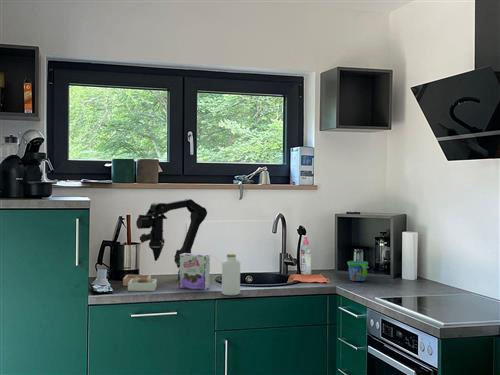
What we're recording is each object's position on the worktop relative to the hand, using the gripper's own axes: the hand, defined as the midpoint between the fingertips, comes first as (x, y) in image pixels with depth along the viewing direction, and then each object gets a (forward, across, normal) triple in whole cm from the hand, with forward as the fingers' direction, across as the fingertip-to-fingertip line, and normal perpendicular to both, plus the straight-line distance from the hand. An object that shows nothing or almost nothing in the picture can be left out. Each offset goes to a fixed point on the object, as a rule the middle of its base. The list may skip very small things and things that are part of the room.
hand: (156, 259), depth 300 cm
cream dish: (+12, +17, -5) cm, 21 cm away
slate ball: (+11, +4, -9) cm, 15 cm away
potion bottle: (+12, +28, +36) cm, 47 cm away
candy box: (+12, +13, +19) cm, 26 cm away
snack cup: (+12, -10, +104) cm, 105 cm away
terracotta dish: (+12, +4, -9) cm, 16 cm away
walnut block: (+11, +17, -5) cm, 21 cm away
